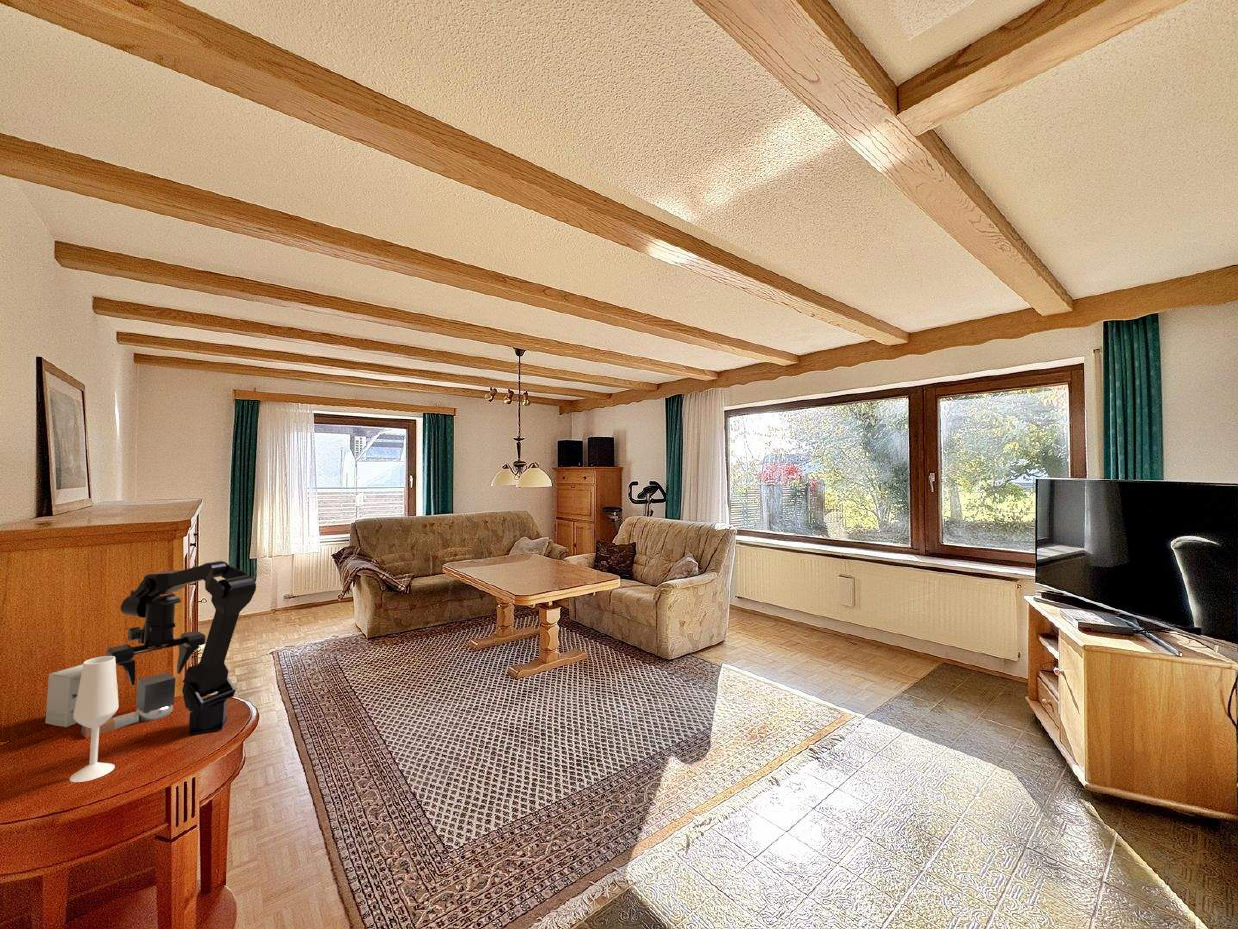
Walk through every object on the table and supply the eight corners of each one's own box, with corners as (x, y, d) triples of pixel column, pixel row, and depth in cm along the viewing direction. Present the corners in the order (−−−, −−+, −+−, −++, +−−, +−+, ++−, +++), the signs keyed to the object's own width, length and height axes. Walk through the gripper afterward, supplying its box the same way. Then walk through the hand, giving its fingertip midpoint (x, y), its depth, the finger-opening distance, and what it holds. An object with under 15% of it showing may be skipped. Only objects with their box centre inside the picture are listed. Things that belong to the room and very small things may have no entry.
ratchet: (79, 731, 121) (81, 704, 121) (167, 706, 135) (168, 682, 135) (87, 740, 118) (89, 713, 118) (176, 713, 132) (178, 689, 132)
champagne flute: (113, 759, 111) (119, 652, 111) (116, 772, 106) (123, 660, 107) (68, 773, 105) (75, 659, 106) (70, 786, 101) (77, 668, 102)
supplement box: (66, 728, 123) (69, 677, 123) (44, 724, 124) (47, 673, 124) (102, 714, 130) (105, 666, 130) (81, 710, 131) (84, 662, 132)
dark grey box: (165, 698, 135) (167, 672, 135) (174, 704, 132) (175, 678, 132) (136, 706, 130) (137, 679, 130) (143, 713, 126) (145, 685, 127)
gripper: (192, 606, 143) (189, 661, 143) (101, 621, 127) (97, 682, 127) (208, 614, 137) (204, 670, 137) (114, 630, 122) (110, 694, 121)
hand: (156, 678), depth 131 cm, fingers open, 9 cm apart
